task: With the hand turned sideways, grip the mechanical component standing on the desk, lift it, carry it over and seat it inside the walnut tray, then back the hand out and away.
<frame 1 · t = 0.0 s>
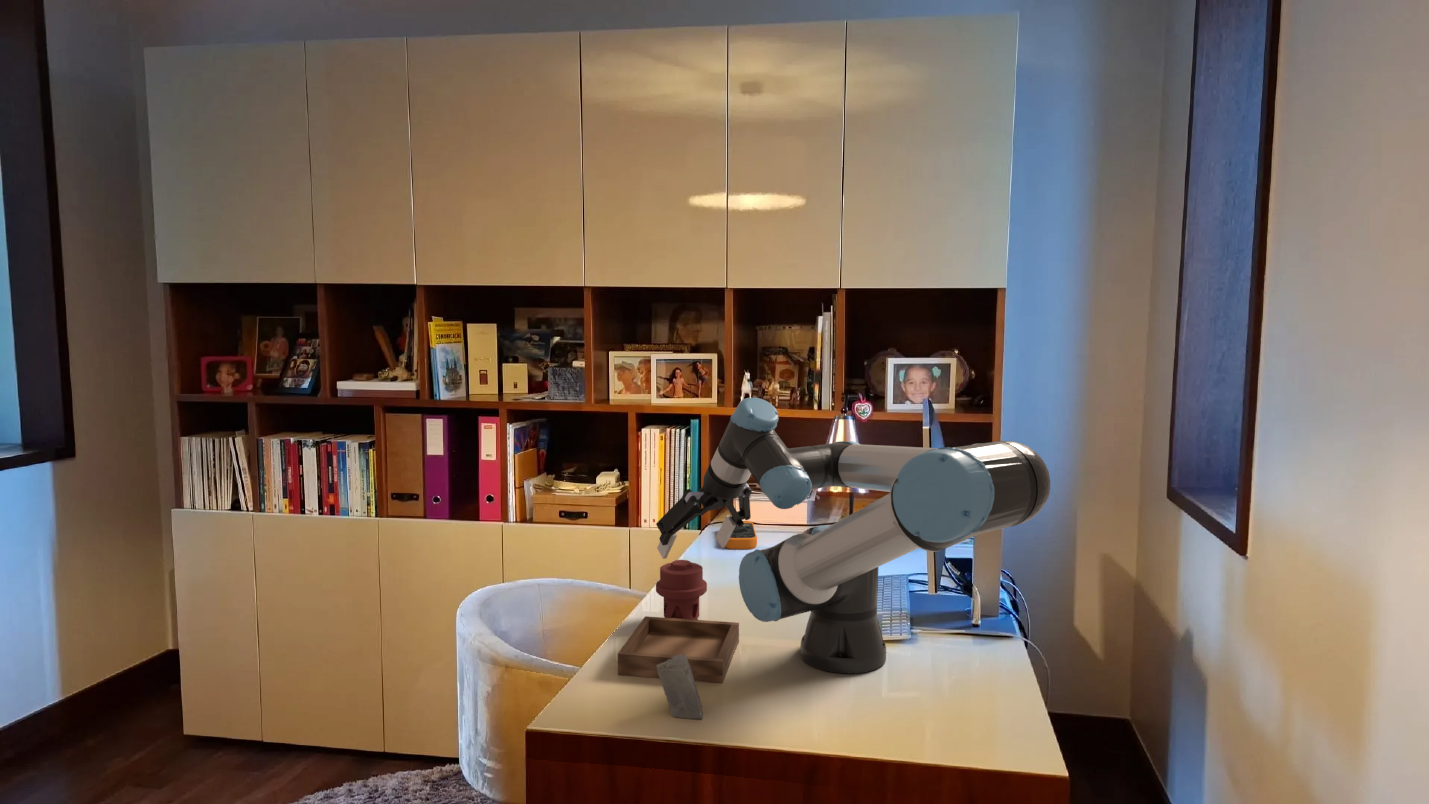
hand: (691, 547, 170), 15 cm above the table, tool tilted 35°, fingers open, 13 cm apart
walnut tray: (681, 657, 155), on the table
multimeter: (739, 542, 232), on the table
mineral specimen: (680, 712, 135), on the table
mechanical component: (681, 624, 172), on the table
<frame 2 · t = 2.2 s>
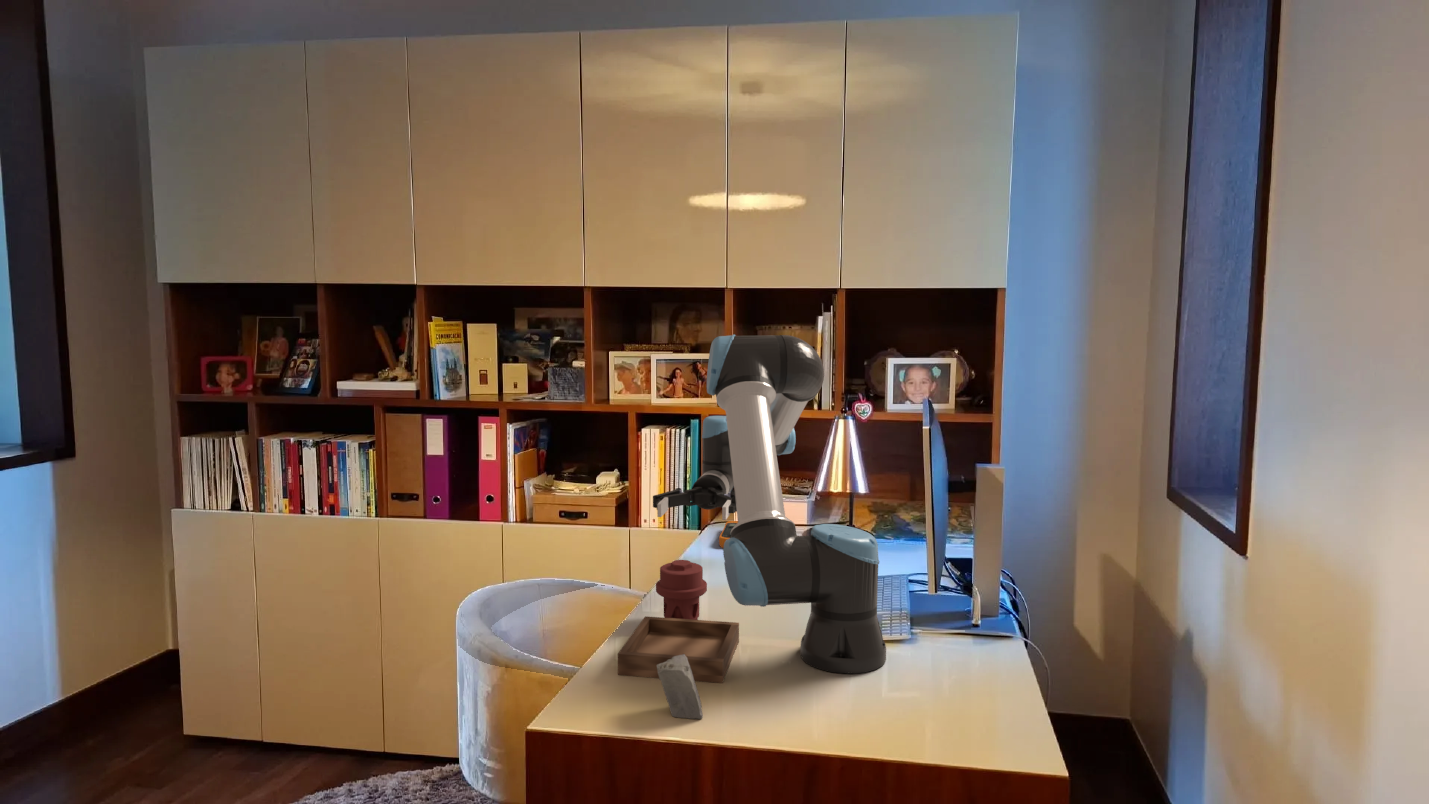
hand: (691, 512, 179), 20 cm above the table, tool horizontal, fingers open, 13 cm apart
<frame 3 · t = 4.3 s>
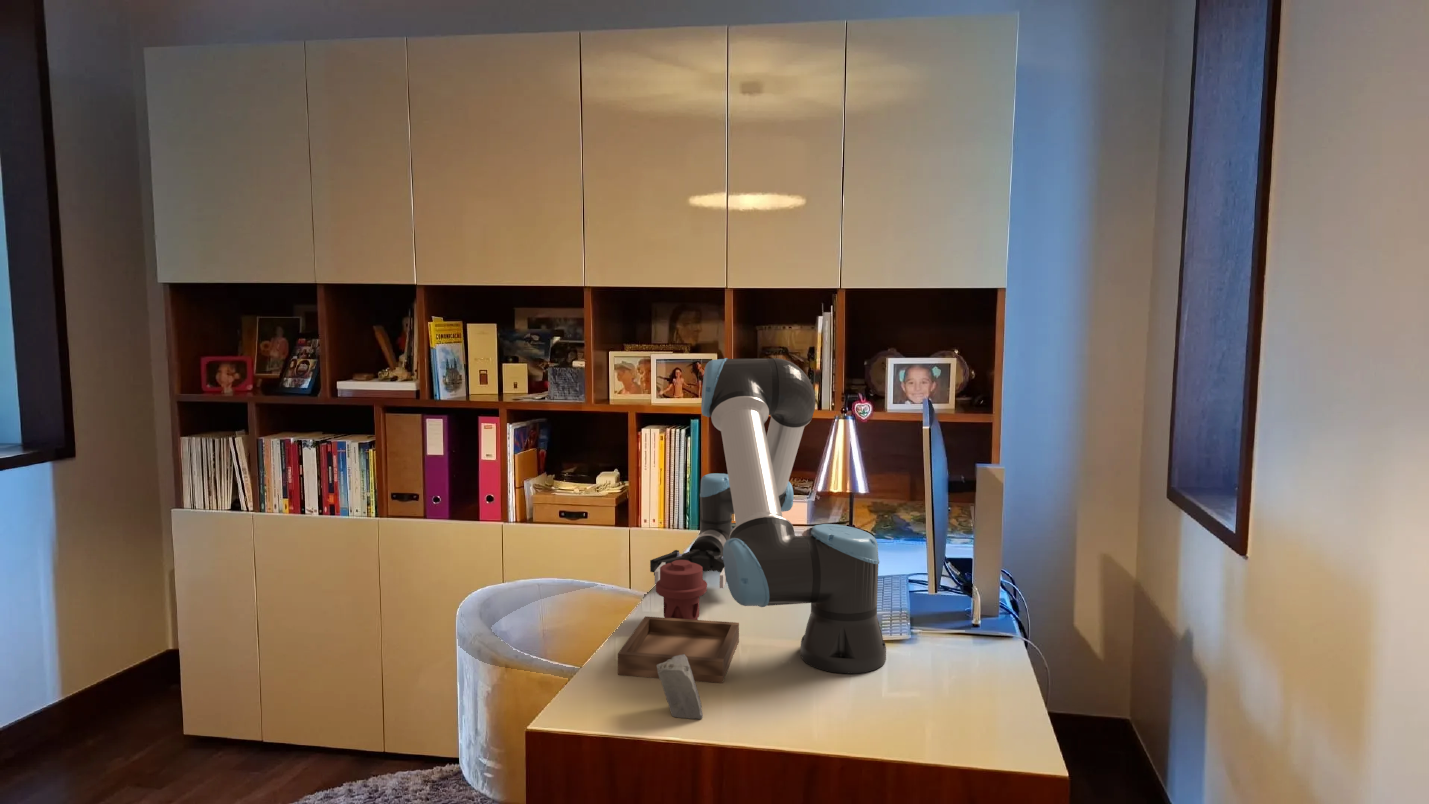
hand: (688, 579, 179), 6 cm above the table, tool horizontal, fingers open, 13 cm apart
nothing on the table moved.
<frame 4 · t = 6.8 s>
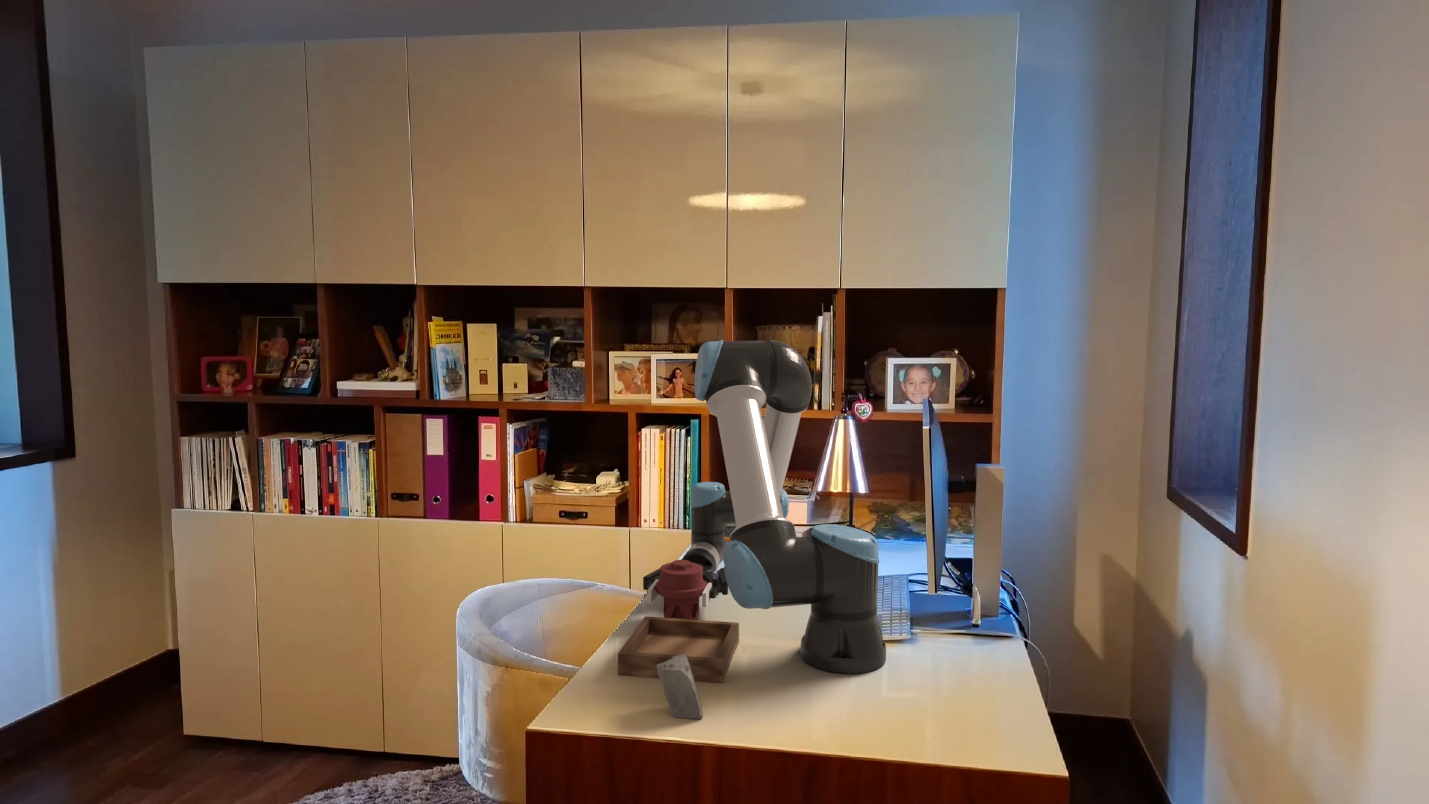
hand: (676, 598, 167), 7 cm above the table, tool horizontal, fingers closed on mechanical component, 10 cm apart
mechanical component: (681, 624, 172), on the table, touching gripper
everything else where it was.
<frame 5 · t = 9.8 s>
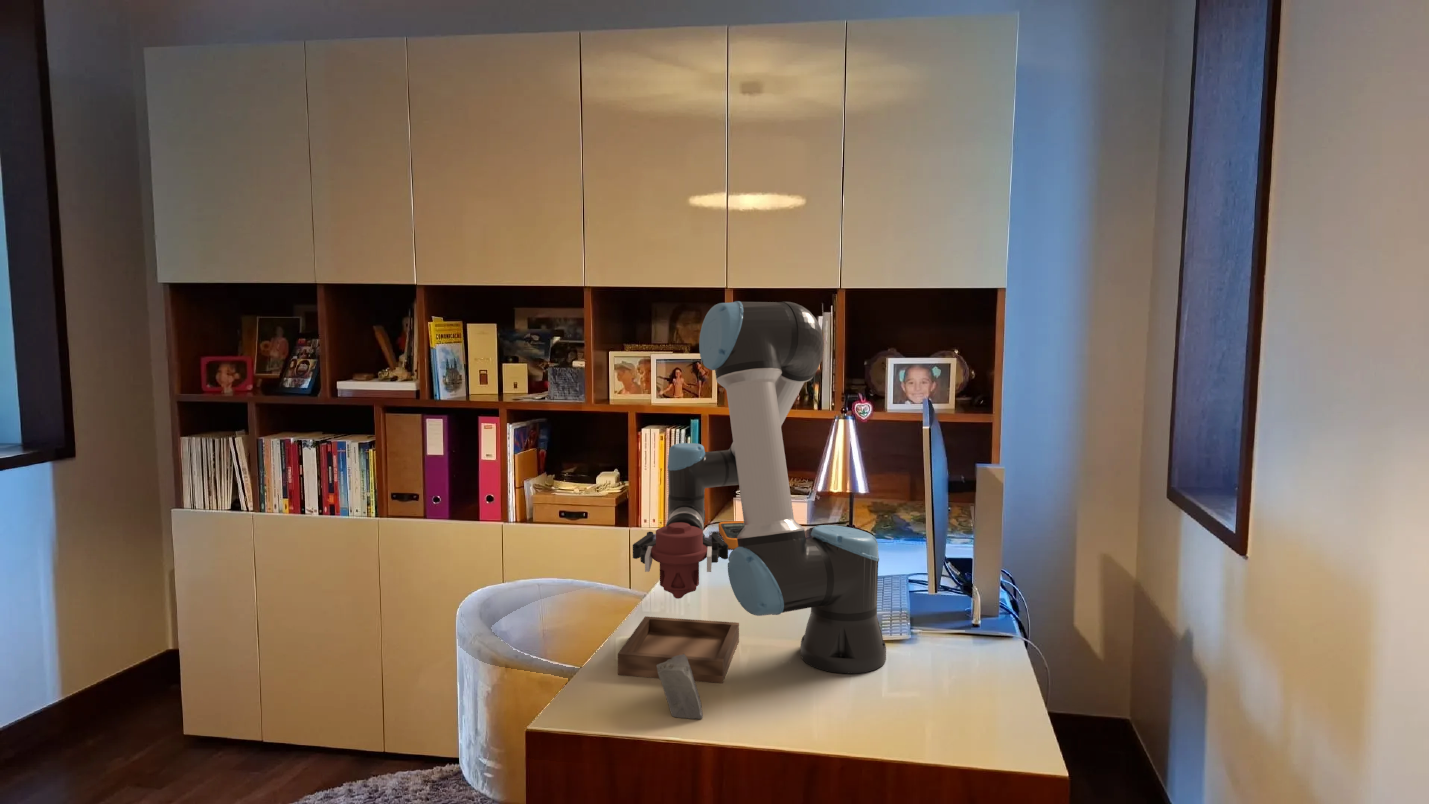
hand: (678, 564, 151), 18 cm above the table, tool horizontal, fingers closed on mechanical component, 10 cm apart
mechanical component: (679, 593, 156), point 11 cm above the table, touching gripper
when the fingers open (9 cm above the table, at t = 13.1 s): mechanical component drops 1 cm, resting on walnut tray.
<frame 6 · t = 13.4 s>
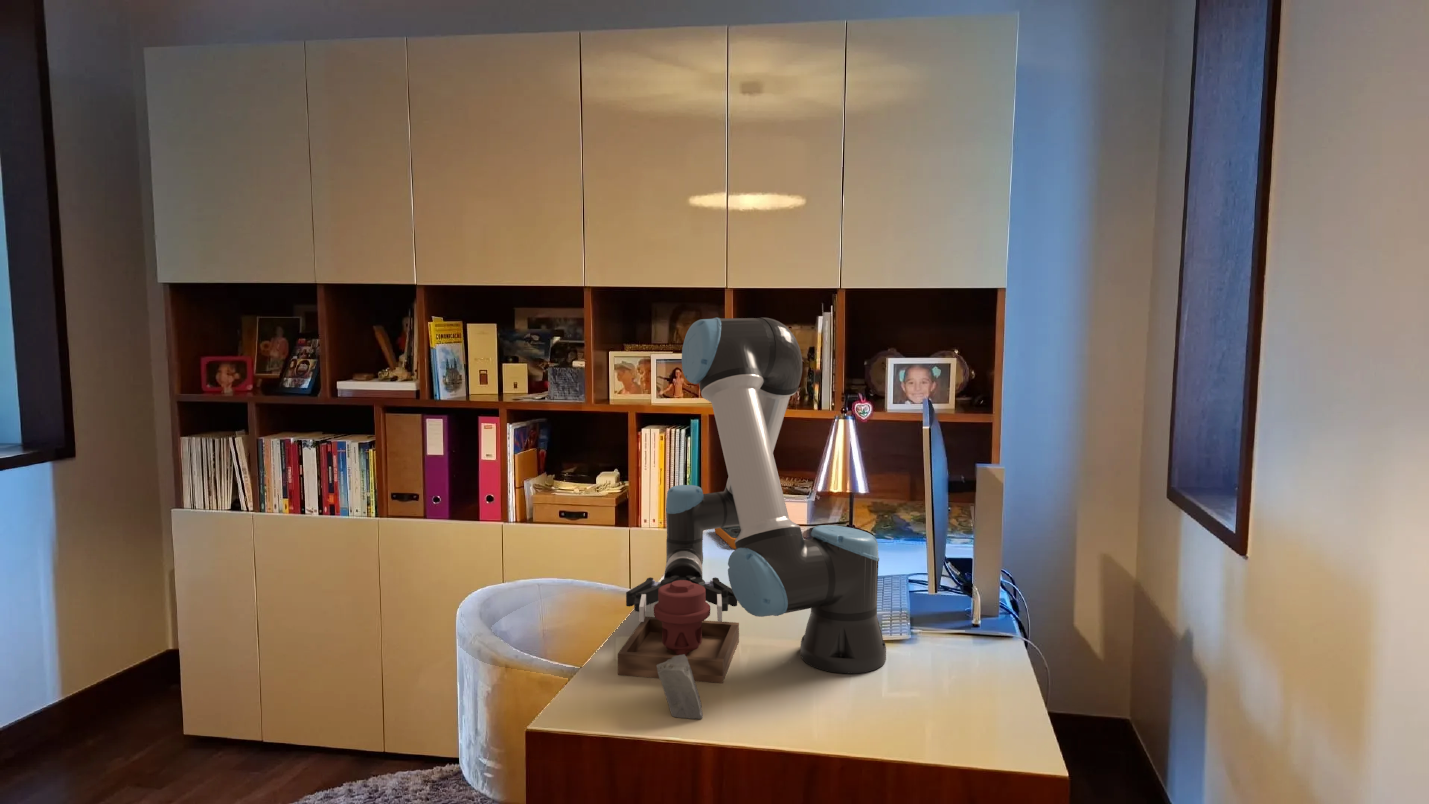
hand: (680, 614, 151), 9 cm above the table, tool horizontal, fingers open, 13 cm apart
mechanical component: (682, 651, 155), point 1 cm above the table, touching walnut tray
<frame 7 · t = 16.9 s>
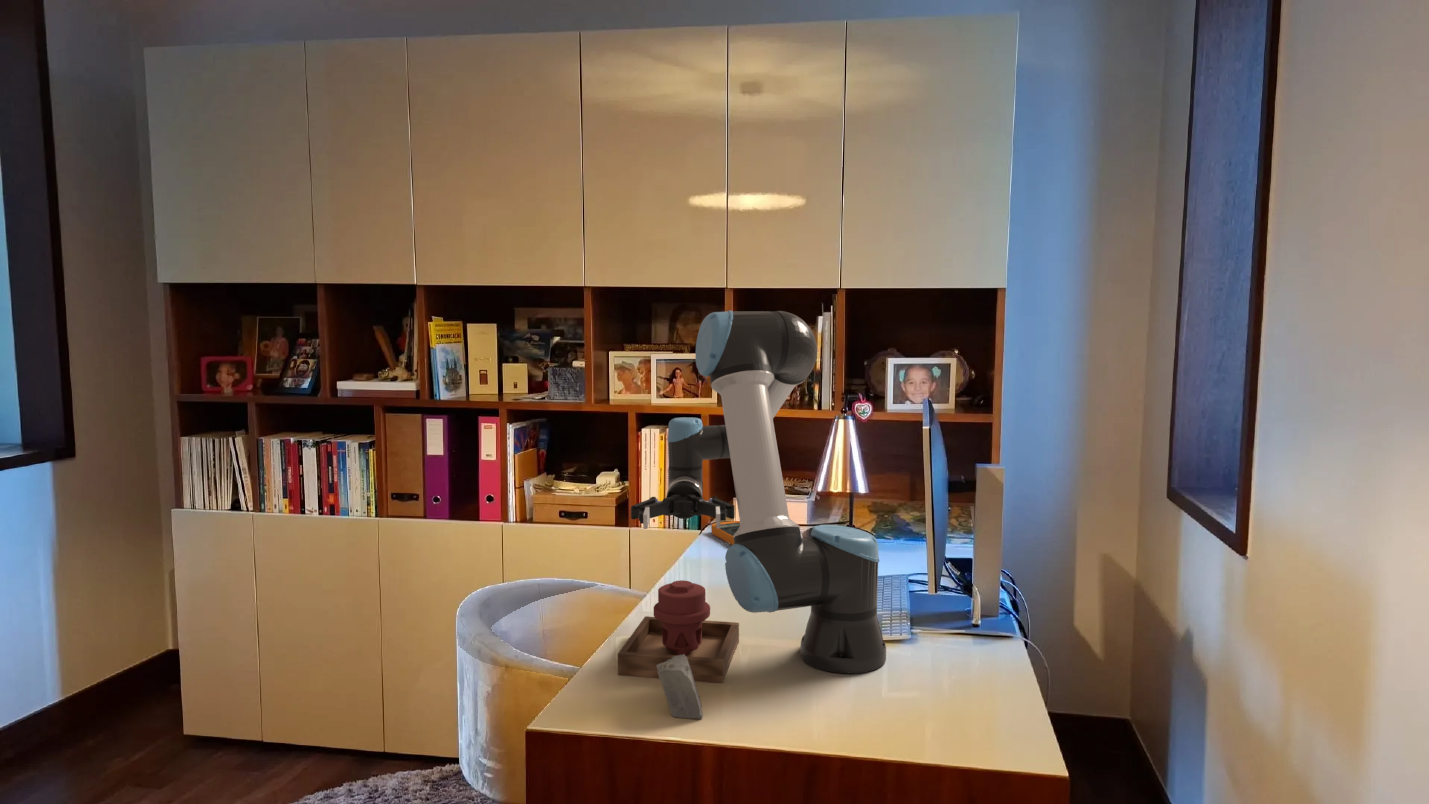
hand: (681, 521, 163), 22 cm above the table, tool horizontal, fingers open, 13 cm apart
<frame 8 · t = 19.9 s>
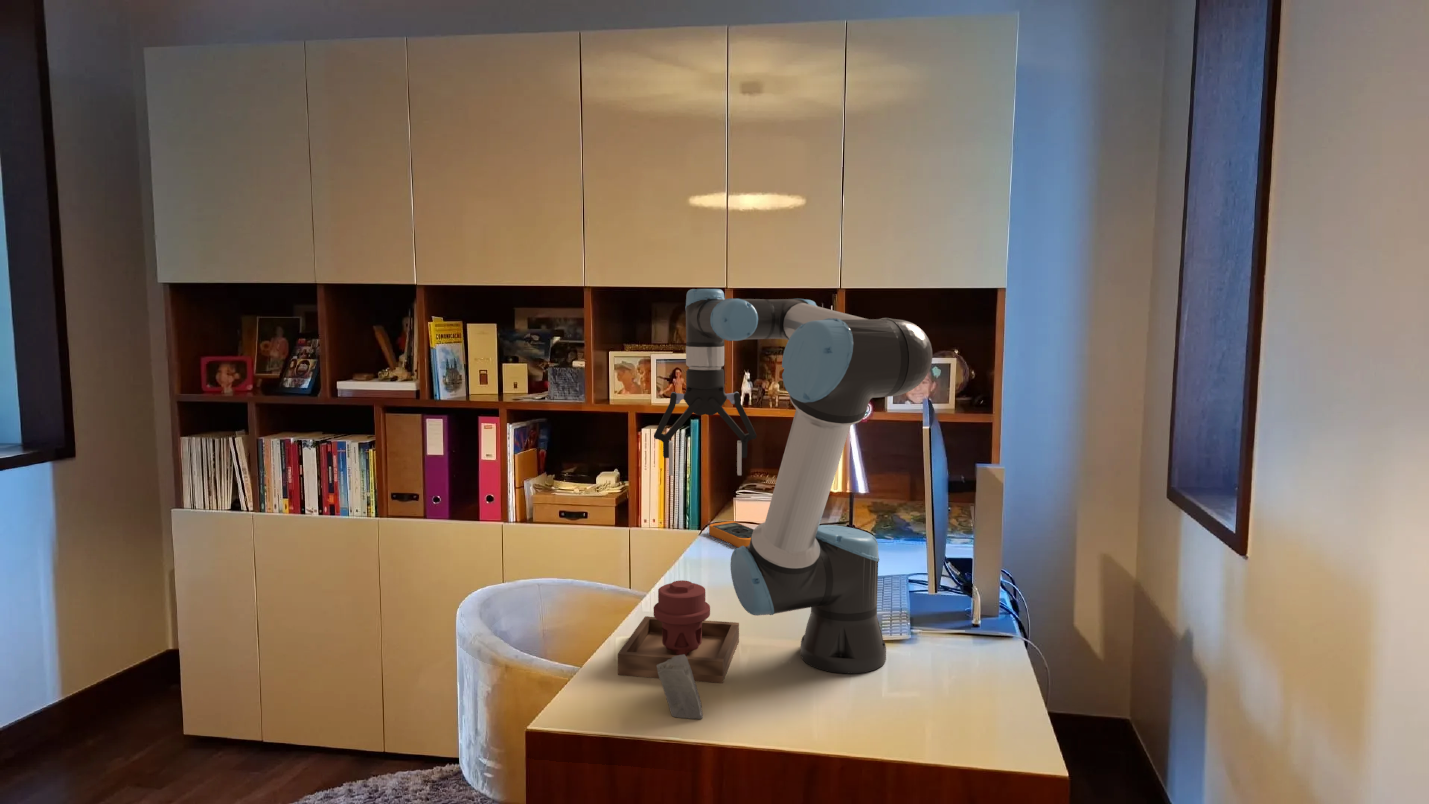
hand: (705, 474, 174), 29 cm above the table, tool pointing down, fingers open, 13 cm apart
at the end: mechanical component inside the target area on the walnut tray (0.1 cm from its centre), point 1.0 cm above the walnut tray's base; mechanical component tilted 0°; the gripper is holding nothing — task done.
